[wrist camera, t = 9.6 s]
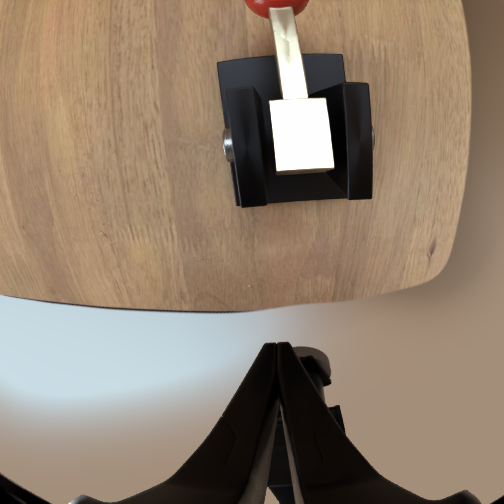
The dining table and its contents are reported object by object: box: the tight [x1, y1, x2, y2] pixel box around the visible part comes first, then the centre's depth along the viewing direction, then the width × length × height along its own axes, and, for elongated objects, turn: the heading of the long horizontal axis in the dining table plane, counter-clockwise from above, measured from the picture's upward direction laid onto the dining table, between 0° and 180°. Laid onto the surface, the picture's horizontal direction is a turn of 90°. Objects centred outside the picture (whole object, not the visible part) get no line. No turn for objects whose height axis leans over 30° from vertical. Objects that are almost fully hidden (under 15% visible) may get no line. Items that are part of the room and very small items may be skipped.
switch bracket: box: [217, 54, 375, 208], centre depth 14 cm, size 10×8×10 cm
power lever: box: [244, 0, 335, 175], centre depth 10 cm, size 11×3×3 cm, turn 7°
